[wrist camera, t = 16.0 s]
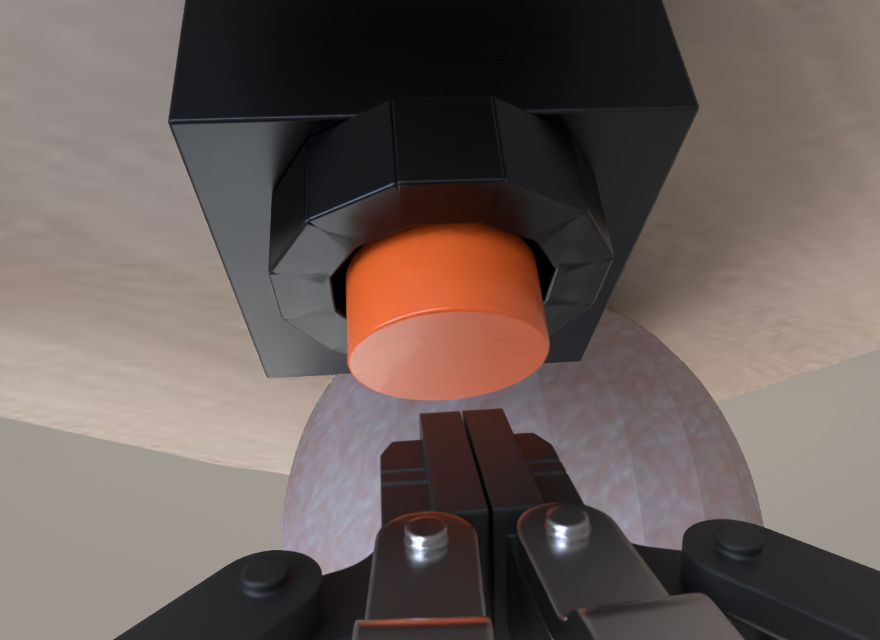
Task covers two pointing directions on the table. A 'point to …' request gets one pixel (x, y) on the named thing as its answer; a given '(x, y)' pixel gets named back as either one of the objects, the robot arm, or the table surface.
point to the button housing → (422, 145)
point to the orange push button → (444, 312)
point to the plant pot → (555, 420)
